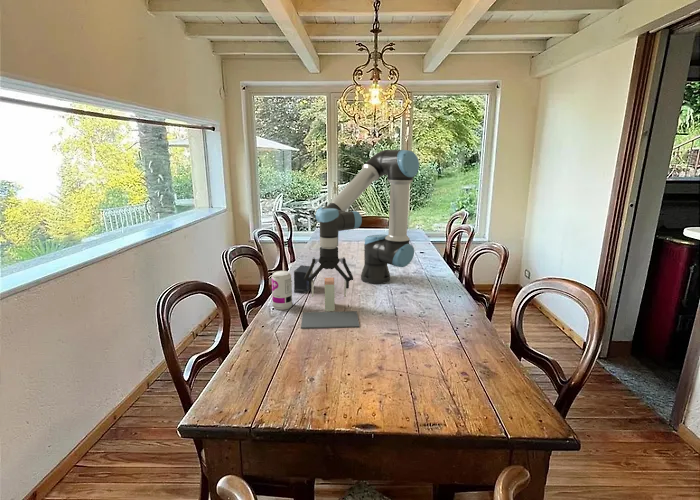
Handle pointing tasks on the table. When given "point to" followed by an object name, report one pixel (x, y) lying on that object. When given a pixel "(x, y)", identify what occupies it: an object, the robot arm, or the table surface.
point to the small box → (301, 279)
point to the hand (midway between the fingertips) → (328, 295)
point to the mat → (329, 319)
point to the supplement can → (281, 290)
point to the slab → (329, 294)
